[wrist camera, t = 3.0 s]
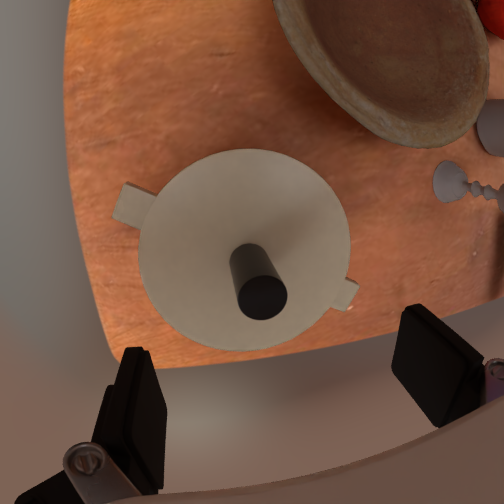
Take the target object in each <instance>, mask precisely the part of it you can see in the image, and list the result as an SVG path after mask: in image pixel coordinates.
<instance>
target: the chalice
mask: <svg viewBox="0 0 504 504" xmlns="http://www.w3.org/2000/svg"><path fill="white" fill-rule="evenodd" d="M433 189H434V192H435V195H436V197H437V198H438V199H439V200H440V201H442V202H443V203H449V202H452V201H456V200H460V199H461V198H462V197H463V196H464V195H465V194H466V192H467V191H469V192H471V193H472V195H473V196H474V197H478V196H479V195H483V196H484V197H485V199H486V200H490V199H497V202H498V206H499V208H500V210H501V211H502V212H503V213H504V184H502V185H501V186H500V188H499V191H497V190H495V189H493V188H492V187H491V186H490V185H486V186H484V187H482V186H481V185H480V183H479V182H478V181H474V182H473V183H468V178H467V176H466V174H465V172H464V171H463V170H462V169H460V167H458V166H457V165H456V164H455V163H453V162H452V161H447V160H446V161H443V162H441V163H440V164H439V165H438V166H437V168H436V170H435V172H434V176H433Z"/></svg>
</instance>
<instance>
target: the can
mask: <svg viewBox="0 0 504 504" xmlns="http://www.w3.org/2000/svg"><path fill="white" fill-rule="evenodd" d="M476 126H477V132H478V135H479V138H480V140H481V142H482V144H483V146H484V148H485V149H486V151H488V152H489V153H490V154H491V155H494V156H499V157H504V99H491V100H485V103H484V105H483V107H482V109H481V111H480V113H479V115H478V117H477V125H476Z"/></svg>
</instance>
